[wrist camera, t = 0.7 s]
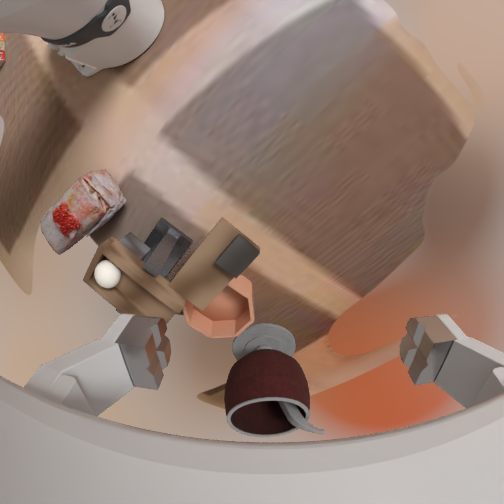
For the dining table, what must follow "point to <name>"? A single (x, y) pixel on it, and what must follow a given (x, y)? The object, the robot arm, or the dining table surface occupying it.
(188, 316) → the octagonal bowl
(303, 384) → the mate gourd
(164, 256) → the chute stand
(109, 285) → the ball
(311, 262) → the dining table surface
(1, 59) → the stack of blocks
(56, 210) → the food item
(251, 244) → the tipping chute
